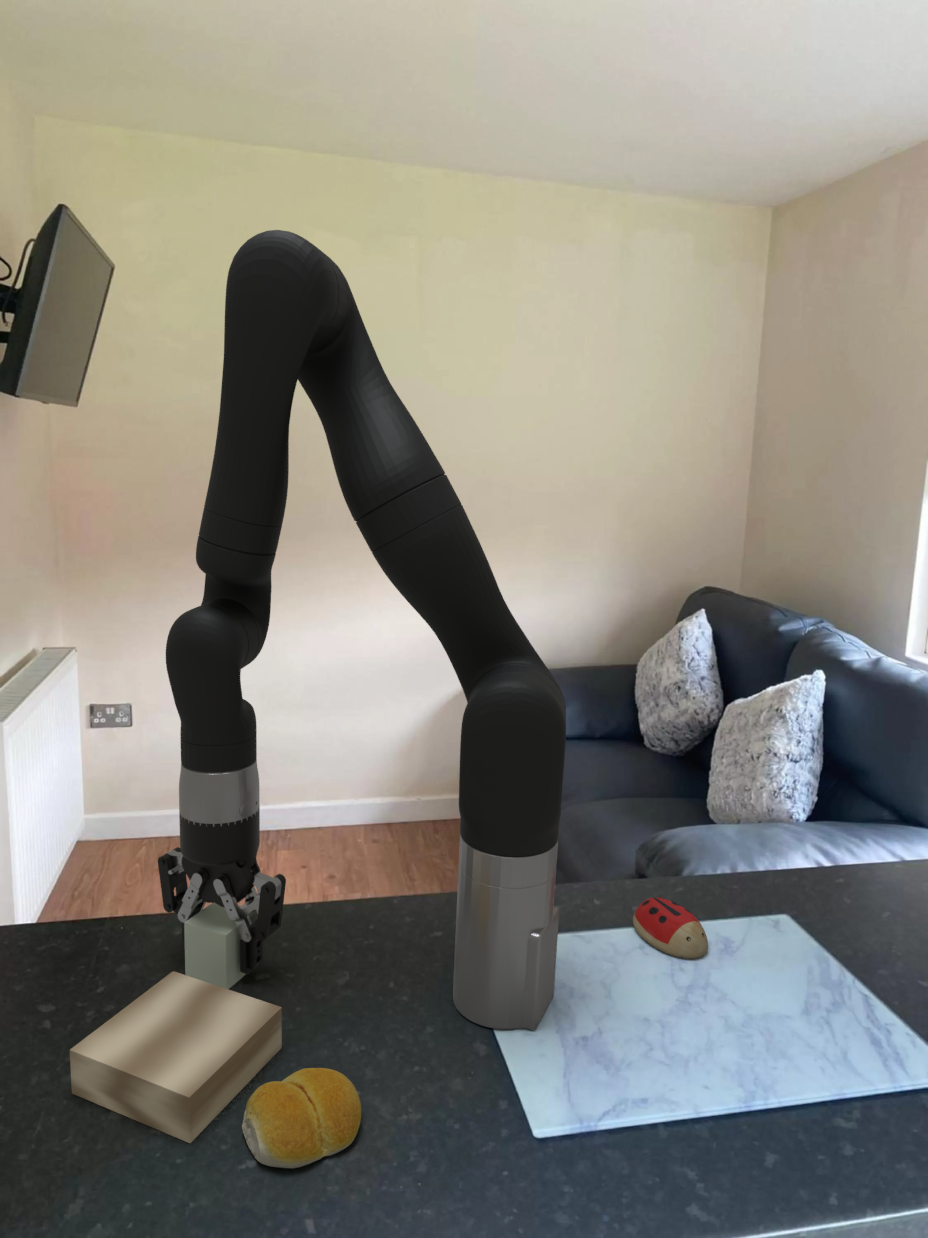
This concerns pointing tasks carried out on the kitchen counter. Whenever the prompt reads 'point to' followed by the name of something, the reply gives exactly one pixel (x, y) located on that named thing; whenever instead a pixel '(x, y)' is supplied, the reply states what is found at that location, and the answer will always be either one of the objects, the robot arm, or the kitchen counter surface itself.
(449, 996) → the kitchen counter surface
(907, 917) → the kitchen counter surface
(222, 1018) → the birch plinth
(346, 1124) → the bread roll
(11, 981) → the kitchen counter surface
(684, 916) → the ladybug figurine
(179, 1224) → the kitchen counter surface
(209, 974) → the sage block
